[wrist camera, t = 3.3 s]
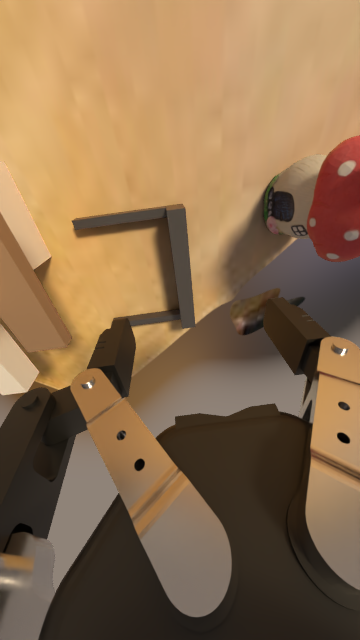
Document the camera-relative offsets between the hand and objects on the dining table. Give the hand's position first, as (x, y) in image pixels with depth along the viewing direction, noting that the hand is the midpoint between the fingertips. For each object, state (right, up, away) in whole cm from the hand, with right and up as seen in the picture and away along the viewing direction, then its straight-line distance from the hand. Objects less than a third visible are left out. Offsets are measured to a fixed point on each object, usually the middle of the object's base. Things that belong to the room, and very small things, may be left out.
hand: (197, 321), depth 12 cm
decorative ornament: (+12, +15, +13) cm, 24 cm away
